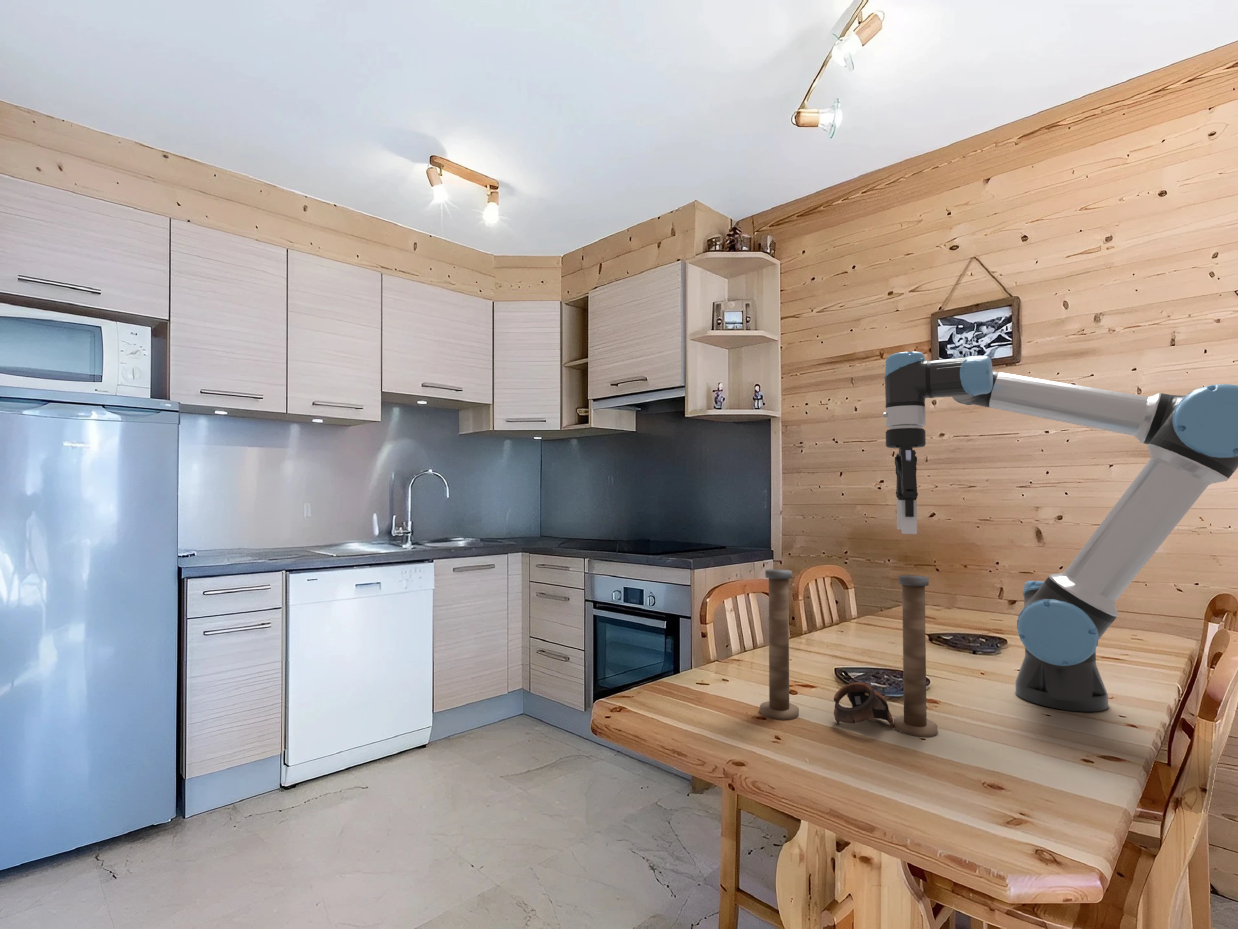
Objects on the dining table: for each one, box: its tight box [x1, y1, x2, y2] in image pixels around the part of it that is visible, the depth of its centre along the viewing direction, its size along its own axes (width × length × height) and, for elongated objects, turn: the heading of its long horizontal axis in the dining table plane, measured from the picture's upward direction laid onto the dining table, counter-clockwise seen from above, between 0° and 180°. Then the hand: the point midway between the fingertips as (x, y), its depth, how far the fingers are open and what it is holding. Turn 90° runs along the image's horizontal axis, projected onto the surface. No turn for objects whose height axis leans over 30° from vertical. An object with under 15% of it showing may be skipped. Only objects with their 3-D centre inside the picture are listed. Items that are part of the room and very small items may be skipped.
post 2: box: [893, 574, 939, 738], centre depth 113 cm, size 7×7×26 cm
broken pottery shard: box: [833, 681, 895, 729], centre depth 115 cm, size 12×10×8 cm
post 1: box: [759, 568, 800, 721], centre depth 120 cm, size 7×7×26 cm
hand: (906, 531), depth 133 cm, fingers open, 13 cm apart
